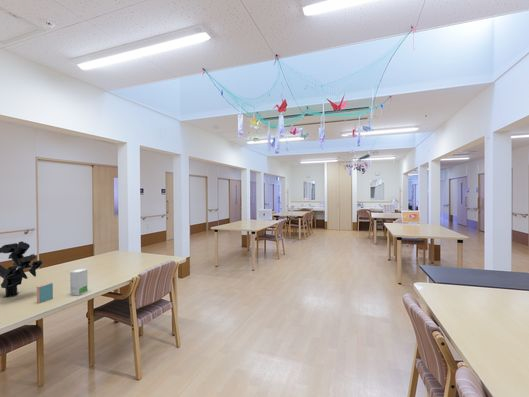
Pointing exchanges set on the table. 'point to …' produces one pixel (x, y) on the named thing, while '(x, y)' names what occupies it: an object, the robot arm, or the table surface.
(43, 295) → the pink flat block
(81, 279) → the skincare box
